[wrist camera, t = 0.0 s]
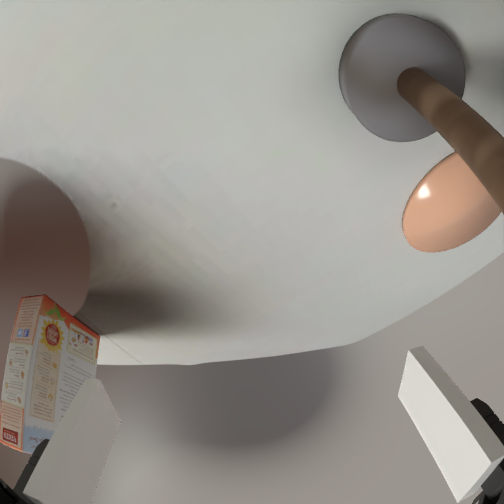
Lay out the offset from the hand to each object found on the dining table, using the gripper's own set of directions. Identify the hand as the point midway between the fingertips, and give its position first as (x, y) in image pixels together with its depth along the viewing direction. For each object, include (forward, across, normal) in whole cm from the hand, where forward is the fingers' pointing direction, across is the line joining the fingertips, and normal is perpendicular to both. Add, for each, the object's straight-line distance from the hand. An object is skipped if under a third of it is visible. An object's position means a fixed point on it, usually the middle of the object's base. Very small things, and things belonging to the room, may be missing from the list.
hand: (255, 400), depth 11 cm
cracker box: (+25, -28, -8) cm, 39 cm away
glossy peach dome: (+16, +22, +4) cm, 28 cm away
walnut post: (+8, +11, +14) cm, 20 cm away
